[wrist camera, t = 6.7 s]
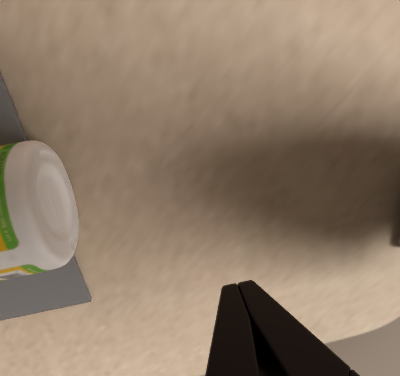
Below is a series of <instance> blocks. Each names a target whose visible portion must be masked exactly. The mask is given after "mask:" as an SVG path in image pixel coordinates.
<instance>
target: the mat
mask: <svg viewBox="0 0 400 376" xmlns="http://www.w3.org/2000/svg"><path fill="white" fill-rule="evenodd" d="M24 141H28V140H27V137H26V135H25V133H24V130H23V128H22V125H21V123H20V120H19V118H18V115H17V113H16V110H15V108H14V105H13V103H12V100H11V98H10V95H9V93H8V91H7V88H6V86H5V83H4V81H3V78H2V76H1V73H0V146H2V145H7V144H12V143H17V142H24ZM87 302H91V296H90V293H89V291H88V288H87V286H86V283H85V281H84V278H83V276H82V273H81V271H80V268H79V266H78V264H77V261H76V259H75V256H74V254H73V256H72V258H71V259H70V260H69V262H68V263H67V264H65V265H64V266H62V267H59V268H56V269H52V270H48V271H44V272H40V273H35V274H31V275H25V276H21V277H16V278H12V279H7V280H2V281H0V321H1V320H5V319H10V318H15V317H20V316H25V315H29V314H34V313H39V312H44V311H48V310H53V309H58V308H63V307H67V306H72V305H77V304H82V303H87Z"/></svg>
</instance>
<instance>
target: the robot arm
mask: <svg viewBox="0 0 400 376" xmlns="http://www.w3.org/2000/svg"><path fill="white" fill-rule="evenodd" d="M205 376H359V375H358V374H357V373H356V372H355V371H354V370H350V367H349V366H348V365H347V364H346V363H345V362H344V361H342V360H341V359H340V358H339V357H338V356H337V355H336V354H335V353H334V352H332V351H331V350H330V349H329V348H328V347H327V346H326V345H325V344H323V343H322V342H321V341H320V340H319V339H318V338H317V337H316V336H315V335H313V334H312V333H311V332H310V331H309V330H308V329H307V328H306V327H304V326H303V325H302V324H301V323H300V322H299V321H298V320H297V319H295V318H294V317H293V316H292V315H291V314H290V313H289V312H288V311H286V310H285V309H284V308H283V307H282V306H281V305H280V304H279V303H278V302H276V301H275V300H274V299H273V298H272V297H271V296H270V295H269V294H267V293H266V292H265V291H264V290H263V289H262V288H261V287H260V286H258V285H257V284H256V283H255V282H254V281H252V280H248V281H244V282H239V283H238V285H237V284H236V283H234V284H229V285H224V286H223V287H222V289H221V295H220V300H219V305H218V311H217V316H216V321H215V327H214V332H213V337H212V343H211V348H210V353H209V358H208V364H207V369H206V374H205Z"/></svg>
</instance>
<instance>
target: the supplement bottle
mask: <svg viewBox="0 0 400 376" xmlns="http://www.w3.org/2000/svg"><path fill="white" fill-rule="evenodd" d="M78 233H79V220H78V212H77V206H76V201H75V197H74V193H73V189H72V186H71V183H70V180H69V177H68V175H67V172H66V170H65V168H64V166H63V164H62V162H61V160H60V158H59V157H58V155H57V154H56V153H55V152H54V151H53V150H52V149H51V148H50V147H49V146H48V145H46V144H45V143H43V142H40V141H32V140H31V141H24V142H17V143H12V144H7V145H2V146H0V281H2V280H7V279H12V278H16V277H21V276H25V275H31V274H35V273H40V272H44V271H48V270H52V269H56V268H59V267H62V266H64V265H65V264H67V263H68V262H69V260H70V259H71V258H72V256H73V254H74V252H75V249H76V246H77V241H78Z"/></svg>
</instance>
